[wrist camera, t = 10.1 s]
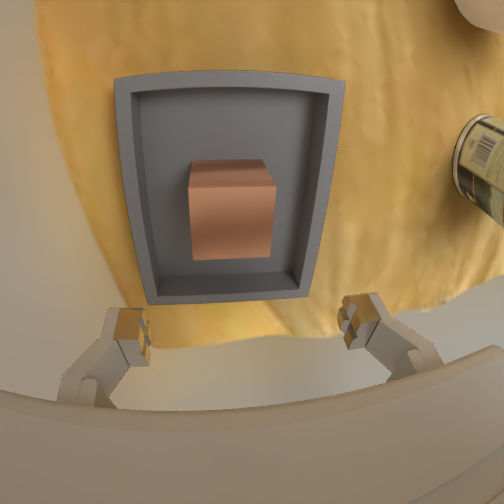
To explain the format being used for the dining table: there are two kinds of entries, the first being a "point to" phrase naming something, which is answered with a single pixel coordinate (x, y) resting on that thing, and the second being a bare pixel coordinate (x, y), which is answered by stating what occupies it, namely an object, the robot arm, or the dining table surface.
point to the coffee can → (482, 165)
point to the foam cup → (483, 13)
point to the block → (231, 209)
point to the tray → (226, 148)
